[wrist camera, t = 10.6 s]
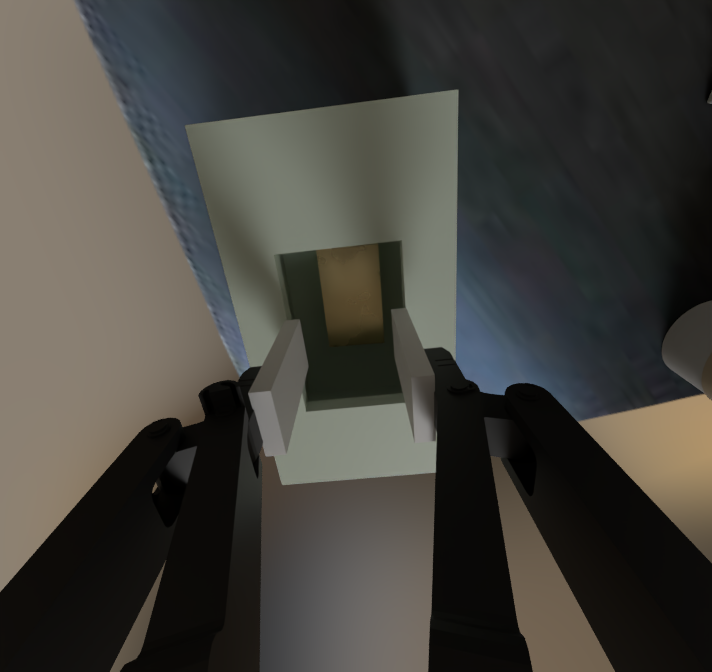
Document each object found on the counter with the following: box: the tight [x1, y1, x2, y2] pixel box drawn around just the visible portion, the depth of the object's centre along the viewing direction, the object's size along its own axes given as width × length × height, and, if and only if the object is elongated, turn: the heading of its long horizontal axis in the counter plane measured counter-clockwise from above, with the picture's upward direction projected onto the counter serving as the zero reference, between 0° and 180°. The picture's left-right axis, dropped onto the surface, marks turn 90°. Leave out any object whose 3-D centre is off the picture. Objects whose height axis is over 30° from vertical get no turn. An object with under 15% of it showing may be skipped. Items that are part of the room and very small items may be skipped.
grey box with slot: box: [185, 90, 458, 485], centre depth 22 cm, size 20×11×10 cm, turn 6°
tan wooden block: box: [316, 243, 384, 347], centre depth 25 cm, size 7×4×3 cm, turn 5°
